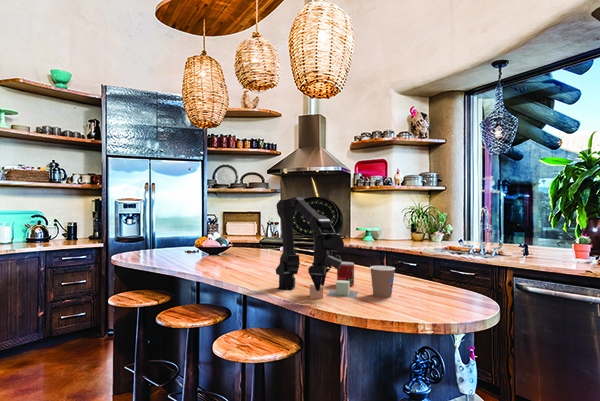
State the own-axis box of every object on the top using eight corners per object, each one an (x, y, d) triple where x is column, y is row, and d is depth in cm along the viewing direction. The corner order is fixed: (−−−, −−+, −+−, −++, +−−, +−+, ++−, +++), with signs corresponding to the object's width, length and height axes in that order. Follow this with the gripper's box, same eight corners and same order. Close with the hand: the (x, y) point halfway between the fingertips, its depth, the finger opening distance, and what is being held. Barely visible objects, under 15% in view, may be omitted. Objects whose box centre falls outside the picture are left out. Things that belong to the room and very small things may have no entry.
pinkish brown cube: (310, 300, 144) (310, 287, 144) (309, 297, 149) (309, 284, 149) (322, 300, 144) (323, 287, 144) (321, 297, 149) (321, 284, 149)
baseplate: (326, 297, 148) (326, 295, 148) (330, 291, 160) (330, 289, 160) (356, 299, 145) (356, 298, 145) (358, 293, 157) (358, 291, 157)
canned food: (348, 289, 165) (349, 264, 165) (333, 286, 170) (333, 262, 170) (357, 286, 171) (357, 262, 171) (342, 284, 176) (342, 261, 176)
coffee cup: (395, 300, 145) (396, 270, 145) (369, 298, 147) (369, 268, 147) (394, 294, 155) (394, 266, 155) (369, 293, 157) (369, 265, 157)
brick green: (335, 294, 151) (336, 282, 151) (337, 292, 156) (337, 280, 156) (348, 295, 150) (348, 283, 150) (349, 292, 154) (349, 280, 155)
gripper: (337, 252, 136) (337, 295, 136) (343, 247, 154) (343, 285, 154) (308, 251, 139) (307, 292, 139) (317, 246, 157) (317, 283, 157)
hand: (320, 288), depth 147 cm, fingers open, 9 cm apart
